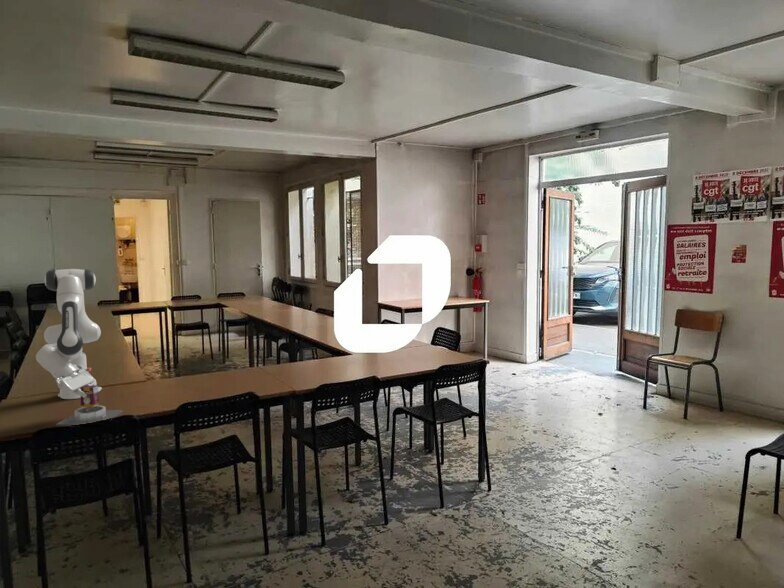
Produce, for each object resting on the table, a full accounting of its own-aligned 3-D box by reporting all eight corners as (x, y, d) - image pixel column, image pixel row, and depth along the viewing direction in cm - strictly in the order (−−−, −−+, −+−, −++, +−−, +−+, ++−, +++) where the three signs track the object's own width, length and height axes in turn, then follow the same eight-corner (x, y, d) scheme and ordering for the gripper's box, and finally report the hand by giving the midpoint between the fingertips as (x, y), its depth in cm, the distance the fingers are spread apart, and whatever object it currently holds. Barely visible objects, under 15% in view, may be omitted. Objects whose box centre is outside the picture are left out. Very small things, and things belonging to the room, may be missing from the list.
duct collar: (80, 412, 256) (79, 403, 256) (122, 412, 257) (122, 402, 256) (55, 426, 236) (55, 416, 236) (101, 425, 237) (101, 415, 236)
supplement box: (80, 407, 243) (79, 387, 243) (86, 404, 248) (85, 385, 247) (94, 407, 243) (93, 387, 243) (99, 404, 248) (98, 384, 247)
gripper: (58, 374, 234) (82, 395, 235) (83, 364, 254) (105, 384, 255) (48, 384, 234) (72, 406, 235) (74, 374, 254) (96, 393, 255)
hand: (89, 394), depth 245 cm, fingers closed on supplement box, 5 cm apart
